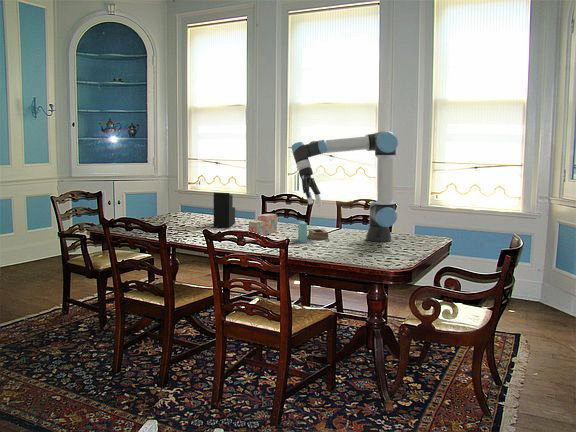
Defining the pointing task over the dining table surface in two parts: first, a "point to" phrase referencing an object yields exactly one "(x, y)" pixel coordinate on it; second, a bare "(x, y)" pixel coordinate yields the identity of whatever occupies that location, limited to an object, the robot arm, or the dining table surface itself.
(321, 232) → the brown hollow block
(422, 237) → the dining table surface
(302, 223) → the tile
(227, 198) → the bookend
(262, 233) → the stack of blocks
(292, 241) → the mat
